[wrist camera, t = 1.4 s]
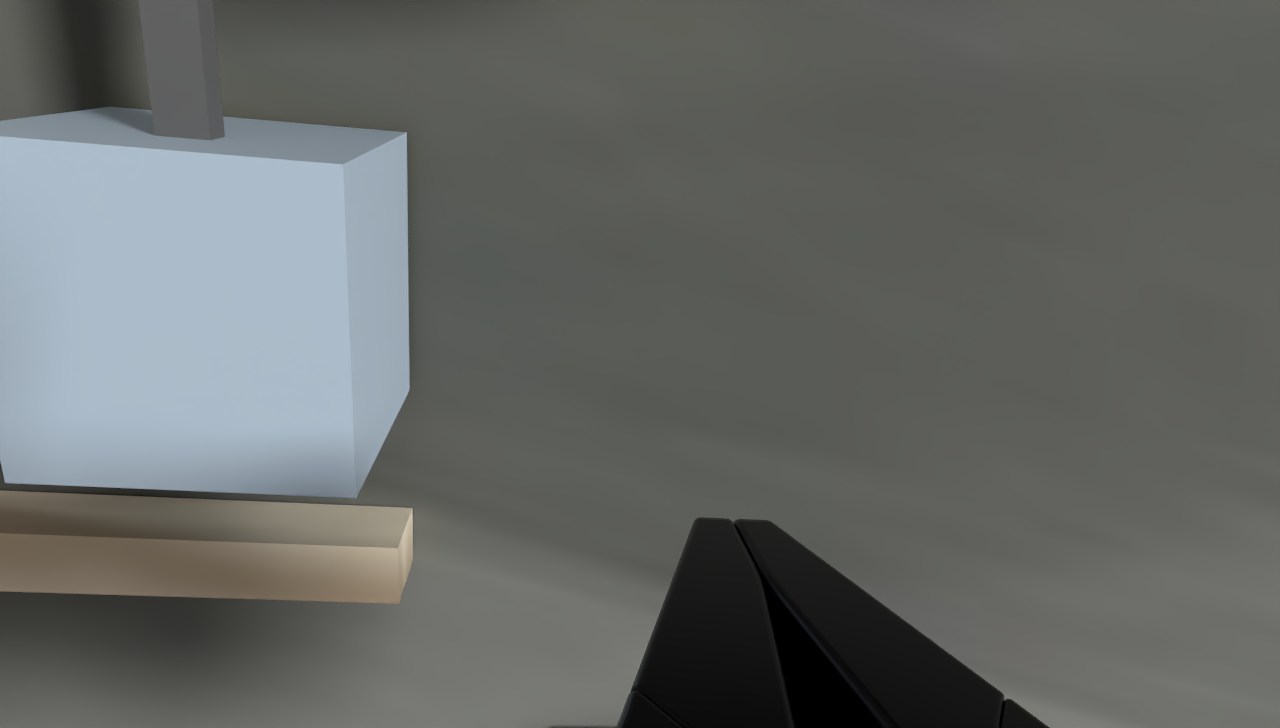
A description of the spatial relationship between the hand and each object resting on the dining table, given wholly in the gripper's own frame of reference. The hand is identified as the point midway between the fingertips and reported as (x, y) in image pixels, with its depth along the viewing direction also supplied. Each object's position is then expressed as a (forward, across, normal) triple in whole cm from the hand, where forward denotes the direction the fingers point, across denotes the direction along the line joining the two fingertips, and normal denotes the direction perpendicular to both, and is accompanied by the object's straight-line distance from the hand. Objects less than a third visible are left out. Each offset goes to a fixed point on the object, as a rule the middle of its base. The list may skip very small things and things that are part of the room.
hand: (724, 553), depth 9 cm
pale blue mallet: (+11, +9, -4) cm, 14 cm away
